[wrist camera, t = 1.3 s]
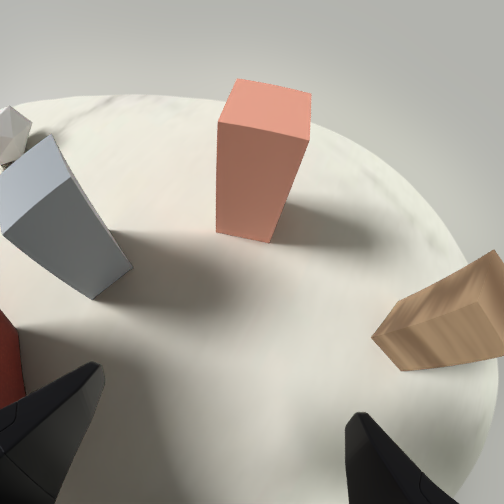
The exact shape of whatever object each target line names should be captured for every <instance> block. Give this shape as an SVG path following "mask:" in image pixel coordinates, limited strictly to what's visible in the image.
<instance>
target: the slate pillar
mask: <svg viewBox="0 0 504 504" xmlns="http://www.w3.org/2000/svg"><path fill="white" fill-rule="evenodd" d="M0 227H1V232H2V235H3V236H4V237H5V238H6V239H8V240H9V241H10V242H11V243H12V244H14V245H15V246H16V247H17V248H19V249H20V250H21V251H22V252H24V253H25V254H26V255H28V256H29V257H30V258H31V259H33V260H34V261H35V262H37V263H38V264H39V265H41V266H42V267H44V268H45V269H46V270H48V271H49V272H50V273H52V274H53V275H55V276H56V277H58V278H59V279H60V280H62V281H63V282H65V283H66V284H68V285H69V286H71V287H72V288H74V289H75V290H77V291H78V292H80V293H82V294H83V295H85V296H86V297H88V298H89V299H91V300H92V299H94V298H95V297H96V296H97V295H99V294H100V293H101V292H102V291H104V290H105V289H106V288H107V287H109V286H110V285H111V284H112V283H114V282H115V281H116V280H117V279H119V278H120V277H121V276H123V275H124V274H125V273H126V272H128V271H129V270H130V269H132V268H133V266H132V265H131V263H130V262H129V260H128V259H127V257H126V256H125V254H124V253H123V251H122V250H121V248H120V247H119V245H118V244H117V242H116V241H115V239H114V237H113V236H112V234H111V233H110V231H109V229H108V228H107V226H106V225H105V224H104V222H103V221H102V219H101V218H100V216H99V215H98V213H97V211H96V210H95V208H94V207H93V205H92V204H91V202H90V201H89V199H88V197H87V196H86V194H85V193H84V191H83V189H82V188H81V186H80V184H79V183H78V181H77V179H76V178H75V176H74V174H73V173H72V171H71V169H70V167H69V166H68V164H67V162H66V160H65V158H64V157H63V155H62V153H61V151H60V149H59V147H58V146H57V144H56V142H55V140H54V138H53V136H52V134H50V135H48V136H47V137H46V138H44V139H43V140H42V141H40V142H39V143H38V144H36V145H35V146H34V147H32V148H31V149H30V150H28V151H27V152H26V153H25V154H23V155H22V156H21V157H20V158H18V159H17V160H16V161H15V162H14V163H13V164H11V165H10V166H9V167H8V168H7V169H6V170H5V171H3V172H2V173H1V174H0Z"/></svg>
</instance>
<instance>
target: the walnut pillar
mask: <svg viewBox="0 0 504 504" xmlns="http://www.w3.org/2000/svg"><path fill="white" fill-rule="evenodd" d="M371 338H372V339H373V340H374V342H375V343H376V344H377V345H378V346H379V347H380V348H381V349H382V350H383V352H384V353H385V354H386V355H387V356H388V357H389V358H390V359H391V361H392V362H393V363H394V364H395V365H396V366H397V367H398V368H399V370H400V371H410V370H420V369H430V368H438V367H446V366H453V365H459V364H465V363H471V362H477V361H482V360H487V359H492V358H496V357H501V356H504V263H503V262H502V260H501V259H500V257H499V256H498V254H497V253H496V251H495V250H492V251H491V252H489V253H487V254H486V255H484V256H482V257H481V258H479V259H478V260H476V261H474V262H472V263H471V264H469V265H467V266H465V267H464V268H462V269H460V270H458V271H457V272H455V273H453V274H451V275H449V276H448V277H446V278H444V279H442V280H440V281H438V282H436V283H434V284H432V285H431V286H429V287H427V288H425V289H423V290H421V291H419V292H417V293H415V294H413V295H411V296H408V297H406V298H404V299H402V300H400V301H398V302H397V303H396V305H395V306H394V308H393V309H392V310H391V312H390V313H389V315H388V316H387V317H386V319H385V320H384V321H383V323H382V324H381V325H380V326H379V328H378V329H377V330H376V332H375V333H374V334H373V335H372V337H371Z"/></svg>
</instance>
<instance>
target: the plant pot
mask: <svg viewBox="0 0 504 504" xmlns="http://www.w3.org/2000/svg"><path fill="white" fill-rule="evenodd" d="M25 396H26V394H25V389H24V382H23V376H22V369H21V359H20V349H19V337H18V332H17V330H16V328H15V327H14V326H13V325H12V323H11V322H10V321H9V319H8V318H7V317H6V316H5V315H4V313H3V312H2V311H1V310H0V409H2V408H4V407H6V406H8V405H10V404H12V403H14V402H16V401H17V402H18V400H20V399H21V398H23V397H25Z"/></svg>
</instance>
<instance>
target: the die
mask: <svg viewBox="0 0 504 504" xmlns="http://www.w3.org/2000/svg"><path fill="white" fill-rule="evenodd" d="M31 126H32V122H31V121H30V120H28V119H27V118H26V117H24V116H23V115H22V114H20V113H19V112H18V111H16V110H15V109H14V108H12V107H11V106H7V107H5V108H3V109H1V110H0V165H2V164H5V163H8V162H12V161H15V160H17V159H18V158H20V157H21V156H22V155H23V154H24V151H25V147H26V143H27V139H28V136H29V132H30V129H31Z"/></svg>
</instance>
